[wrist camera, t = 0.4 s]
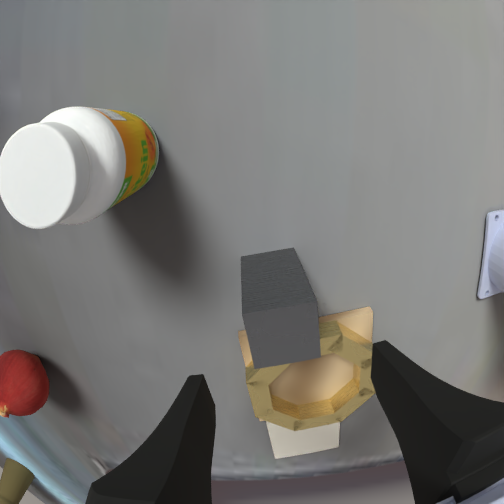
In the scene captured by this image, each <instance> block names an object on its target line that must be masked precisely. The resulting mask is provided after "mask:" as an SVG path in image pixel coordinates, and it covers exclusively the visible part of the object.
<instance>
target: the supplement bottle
mask: <svg viewBox="0 0 504 504" xmlns="http://www.w3.org/2000/svg"><path fill="white" fill-rule="evenodd" d="M158 158H159V146H158V141H157V138H156V135H155V133H154V131H153V129H152V128H151V126H150V125H149V124H148V123H147V122H146V121H145V120H144V119H142V118H141V117H139V116H137V115H135V114H132V113H129V112H124V111H116V110H108V109H100V108H91V107H68V108H63V109H60V110H57V111H55V112H53V113H51V114H49V115H48V116H46V117H45V118H44V119H43V120H42V121H41V122H40V123H35V124H30V125H27V126H25V127H23V128H21V129H19V130H18V131H17V132H16V133H15V134H13V135H12V137H11V138H10V139H9V140H8V142H7V143H6V145H5V147H4V149H3V151H2V154H1V157H0V195H1V198H2V200H3V203H4V205H5V207H6V208H7V210H8V212H9V213H10V214H11V215H12V216H13V218H15V219H16V220H17V221H18V222H19V223H21V224H23V225H24V226H27V227H29V228H34V229H44V228H48V227H51V226H53V225H55V224H57V223H60V224H66V225H76V224H82V223H86V222H88V221H91V220H93V219H95V218H96V217H98V216H100V215H101V214H103V213H104V212H106V211H107V210H109V209H110V208H111V207H113V206H114V205H116V204H118V203H119V202H120V201H122V200H124V199H125V198H127V197H128V196H130V195H131V194H133V193H135V192H136V191H138V190H139V189H141V188H142V187H143V186H144V185H145V184H146V183H147V182H148V181H149V180H150V178H151V177H152V175H153V173H154V171H155V169H156V166H157V163H158Z"/></svg>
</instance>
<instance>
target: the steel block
mask: <svg viewBox="0 0 504 504" xmlns="http://www.w3.org/2000/svg"><path fill="white" fill-rule="evenodd" d="M241 285H242V316H243V320H244V325H245V329H246V334H247V338H248V343H249V347H250V352H251V356H252V360H253V365H254V369H259V368H265V367H272V366H278V365H284V364H289V363H295V362H300V361H306V360H311V359H316V358H321V349H320V334H319V320H318V307H317V300H316V298H315V295H314V293H313V291H312V288H311V286H310V284H309V281H308V279H307V277H306V274H305V272H304V270H303V268H302V265H301V263H300V261H299V259H298V256H297V254H296V252H295V250H294V248H289V249H283V250H277V251H271V252H266V253H260V254H254V255H248V256H242V257H241Z"/></svg>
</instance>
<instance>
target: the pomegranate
mask: <svg viewBox="0 0 504 504" xmlns="http://www.w3.org/2000/svg"><path fill="white" fill-rule="evenodd" d="M48 395H49V379H48V377H47V374H46V371H45V368H44V367H43V365H42V364H41V361H40V359H39V357H38V356H36V355H34V354H31V353H29V352H26V351H22V350H11V351H7V352H4V353H3V354H2V355H1V356H0V415H1V416H2V417H8V418H9V414H12V415H16V416H25V415H31V414H33V413H35V412H36V411H37V410H39V409H40V408H41V407H43V405H44V404H45V403H46V401H47V398H48Z"/></svg>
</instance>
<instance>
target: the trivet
mask: <svg viewBox="0 0 504 504" xmlns="http://www.w3.org/2000/svg"><path fill="white" fill-rule="evenodd" d="M266 423H267V427H268V432H269V436H270V440H271V444H272V448H273V452H274V456H275V459H277V458H284V457H290V456H296V455H302V454H307V453H312V452H317V451H322V450H327V449H332V448H336V447H339V429H340V422H338V423H333V424H329V425H324V426H319V427H314V428H309V429H304V430H299V431H292V430H290V429H287V428H284V427H281V426H278V425H276V424H273V423H270V422H267V421H266Z"/></svg>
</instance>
